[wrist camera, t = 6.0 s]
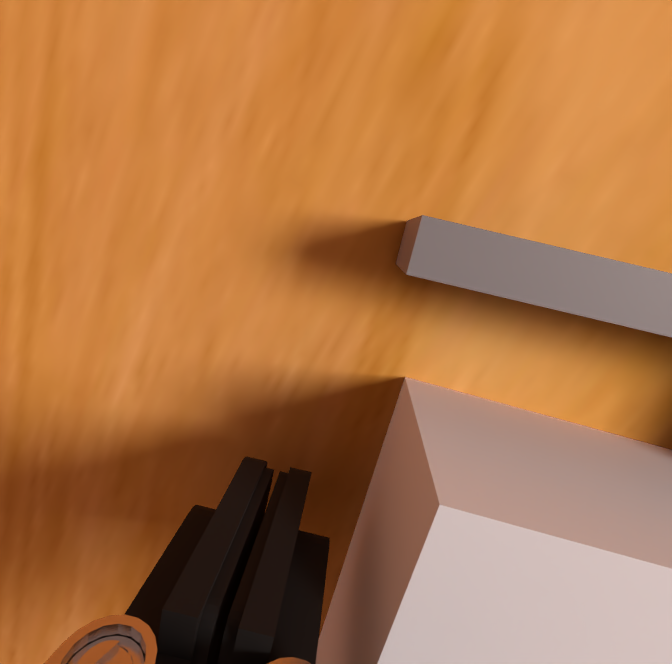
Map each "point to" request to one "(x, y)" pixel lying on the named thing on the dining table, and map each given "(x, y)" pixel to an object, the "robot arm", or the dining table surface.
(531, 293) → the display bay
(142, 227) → the dining table surface
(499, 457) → the carton
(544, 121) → the dining table surface
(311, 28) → the dining table surface
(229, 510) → the robot arm
